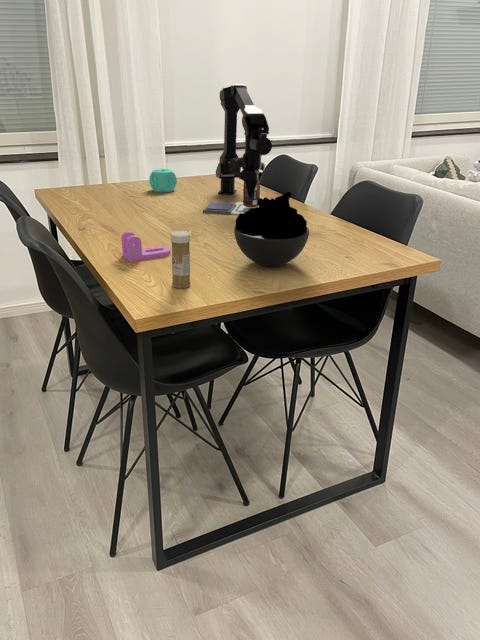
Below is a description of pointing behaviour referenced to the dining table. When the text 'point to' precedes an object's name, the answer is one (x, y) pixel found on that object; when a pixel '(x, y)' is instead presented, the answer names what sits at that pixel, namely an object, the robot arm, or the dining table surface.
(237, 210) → the form board
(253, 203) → the supplement bottle
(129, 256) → the bracket
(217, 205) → the ink pad
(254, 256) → the coal bowl
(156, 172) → the decorative dice
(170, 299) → the dining table surface
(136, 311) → the dining table surface
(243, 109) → the robot arm
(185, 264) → the sprinkles bottle
